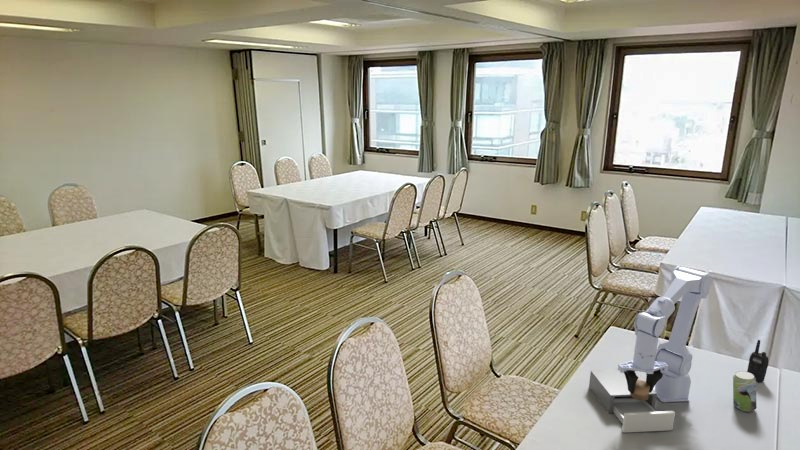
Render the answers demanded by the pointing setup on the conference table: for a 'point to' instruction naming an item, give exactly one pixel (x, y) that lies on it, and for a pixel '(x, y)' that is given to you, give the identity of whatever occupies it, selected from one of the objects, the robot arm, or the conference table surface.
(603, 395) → the housing
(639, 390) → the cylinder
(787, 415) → the conference table surface
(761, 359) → the two-way radio
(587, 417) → the conference table surface
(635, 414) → the tray
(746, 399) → the beverage can
